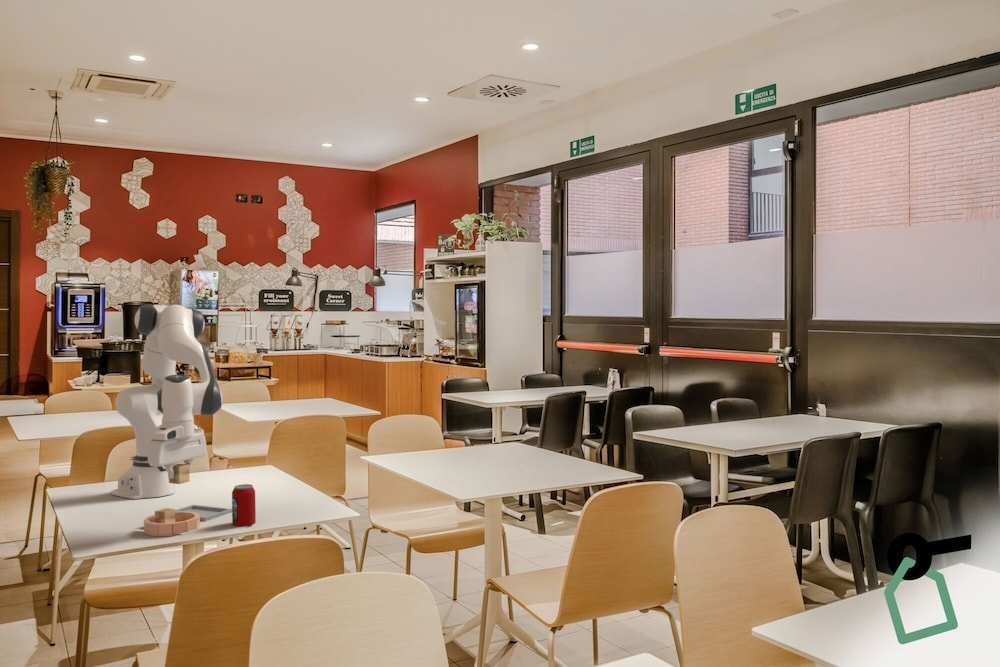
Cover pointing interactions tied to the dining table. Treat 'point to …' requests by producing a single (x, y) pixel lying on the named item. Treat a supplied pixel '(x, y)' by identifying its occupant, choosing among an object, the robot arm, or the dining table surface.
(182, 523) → the bowl
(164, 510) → the block left
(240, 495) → the beverage can
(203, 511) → the tray
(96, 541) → the dining table surface
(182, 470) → the block right
